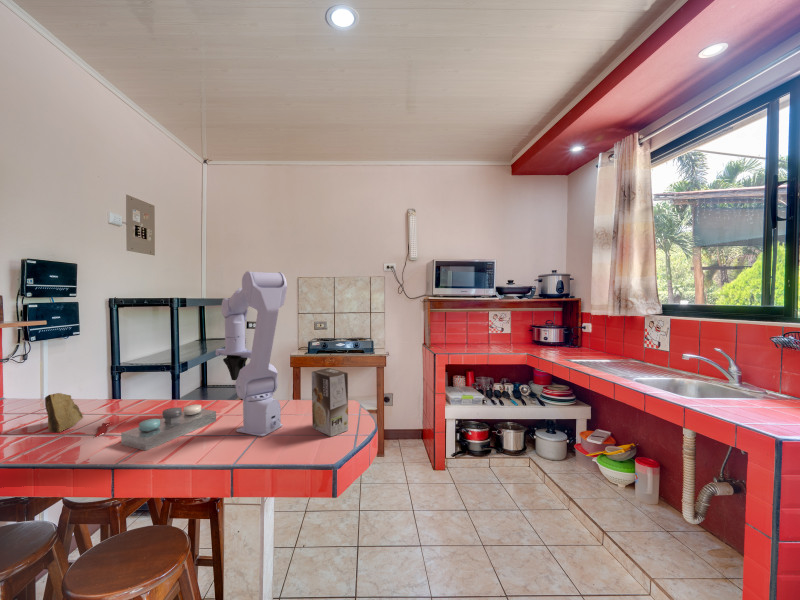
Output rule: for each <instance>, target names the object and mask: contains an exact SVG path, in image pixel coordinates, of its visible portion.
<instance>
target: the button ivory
mask: <svg viewBox="0 0 800 600" xmlns="http://www.w3.org/2000/svg"><path fill="white" fill-rule="evenodd" d="M201 409H202V404H196V403H195V404H191V405H187V406H186V405H185V406H184V407H183V409H182V410H183V413H184V414H185V415H187V416H194V415H196V414H199V412H201Z"/></svg>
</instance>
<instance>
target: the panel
mask: <svg viewBox="0 0 800 600" xmlns="http://www.w3.org/2000/svg"><path fill="white" fill-rule="evenodd" d="M215 422H217V411H215V410H211V409H205V408H201V412H199V414H196V415H194V416H187V415H185V414H184V413H183V411H182V415H181V416H180V421H177V422H175V423H172V424H169V423H165V419H164V418H163V417H162V418H160V427H159V428H158V429H156V430H153V431H151V432H148V433H147V432H143V431H140V430H139V426H138V427H134V428H132V429H128V430H125V431H124V432H121V435H120V436H121V437H120V438H121V439H120V440H121V441H120V443H121V444H122V445H121V446H124V445H125V447H128V448H132V447H133V448H134V449H137V448H138V449H137V450H142V451H144V452H145V451H149V450H151V449H153V447H154V448H156V447H158V446H160V445H162V444H165V443H168V442H171V441H173V440H175V439H178V438H179V437H181V436H184V435H187V434H189V433H191V432H194V431H196V430H199V429H201V428H204V427H205V426H207V425H210V424H213V423H215ZM172 439H173V440H172ZM167 441H168V442H167ZM148 449H149V450H148Z"/></svg>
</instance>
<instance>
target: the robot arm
mask: <svg viewBox="0 0 800 600" xmlns="http://www.w3.org/2000/svg"><path fill="white" fill-rule="evenodd" d="M287 290H288V283H287V278H286V276H285V275H284V273H283V272H281V271H279V272H266V271H265V272H264V271H262V272H261V271H249V270H247V271H245V273H244V274H243V275H242V278H241V287H238V289H236V290H235V291H234V293H232V295H230V297H229V298H227V297H224V298H223V299H222V301H221V313H222V316H223V317H224V347H225V348H218V349H217V348H216V349H215V356H224V358H223V360H222V361H223V362H224V364H225V365H226V368H227V369H228V372H229V374H230V380H231V381H235V391H236V394H237V397H238V398H239V399H240V400H242V419H243V426H241V427H239V428H237V429H236V430H235V431H236V433H237V432H238V433H243V434H246V435H247V434H249V435H253V436H257V437H258V436H259V437H265V436H267V435H268V434H271V433H272V432H274V431H276V430H278V429H279V428H281V427H283V426H284V424H283V423H282V421H281V418H282V417H281V415H282V414H281V413H282V411H281V404H280V401H279V400H278V399H275V398H273V396H274V393H275V392H276V391H277V389H278V387H279V386H278V385H279V381H278V379H279V377H278V375H279V373H278V372H279V371H278V370H277V369H276V367H275V366H274V364H272V363H271V357H272V351H273V346H274V339H275V333H276V327H277V322H278V317H279V311H280V308H282V307H284V305H285V302H286V301H285V300H286V298H287V297H286V295H287ZM249 308H252V309H255V310H256V311H257V314H256V321H255V327H254V333H253V340H252V347H251V350H250V349H248V348H247V347H246V322H247V315H248V311H249ZM225 356H226V357H225ZM248 359H249V363H247V364H246V362H247V361H248ZM245 364H246V365H245ZM244 365H245V366H244Z"/></svg>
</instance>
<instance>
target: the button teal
mask: <svg viewBox="0 0 800 600" xmlns="http://www.w3.org/2000/svg"><path fill="white" fill-rule="evenodd" d="M160 419H161V418H160ZM160 419H159V418H149V419H145V420H142V421H139V423H138V427H139V430H140V431H143V432H147V433H148V432H151V431H153V430H156V429H158V428H159V427H160Z"/></svg>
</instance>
